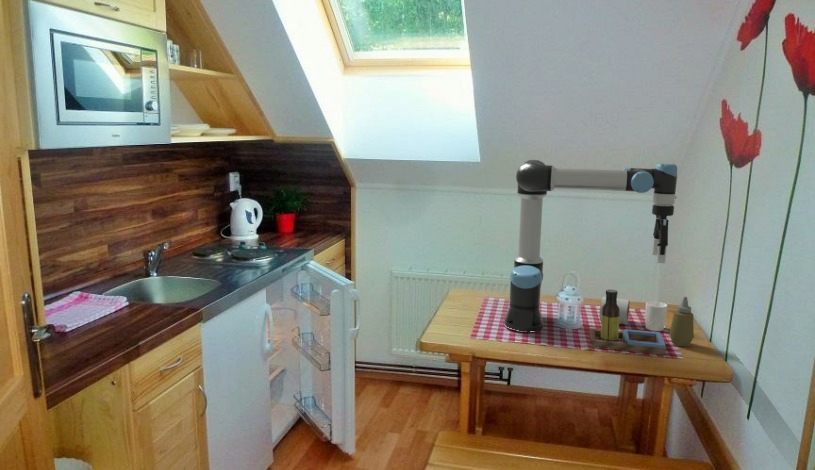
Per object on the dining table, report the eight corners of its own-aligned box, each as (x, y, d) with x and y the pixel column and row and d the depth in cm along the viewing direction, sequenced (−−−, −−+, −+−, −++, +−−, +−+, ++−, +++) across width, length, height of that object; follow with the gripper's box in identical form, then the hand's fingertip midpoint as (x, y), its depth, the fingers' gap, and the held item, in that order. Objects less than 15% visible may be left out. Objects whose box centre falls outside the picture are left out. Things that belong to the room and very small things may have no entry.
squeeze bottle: (689, 341, 218) (694, 294, 215) (695, 349, 210) (700, 301, 207) (666, 339, 220) (671, 293, 216) (670, 347, 212) (675, 299, 209)
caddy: (590, 347, 211) (591, 337, 211) (589, 334, 224) (590, 325, 223) (664, 354, 205) (665, 345, 204) (659, 341, 217) (660, 332, 217)
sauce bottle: (619, 341, 217) (623, 290, 213) (615, 347, 212) (620, 294, 208) (601, 338, 220) (605, 287, 216) (597, 343, 215) (601, 291, 211)
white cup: (667, 332, 227) (669, 307, 225) (645, 331, 228) (647, 306, 227) (662, 325, 234) (665, 301, 233) (641, 324, 236) (644, 300, 234)
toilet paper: (628, 320, 240) (630, 297, 238) (625, 328, 232) (627, 303, 230) (603, 316, 245) (604, 293, 243) (598, 324, 236) (600, 300, 234)
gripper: (679, 209, 210) (674, 267, 214) (669, 200, 233) (664, 252, 237) (657, 208, 212) (652, 265, 216) (648, 200, 235) (644, 251, 239)
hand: (658, 259), depth 227 cm, fingers open, 13 cm apart
